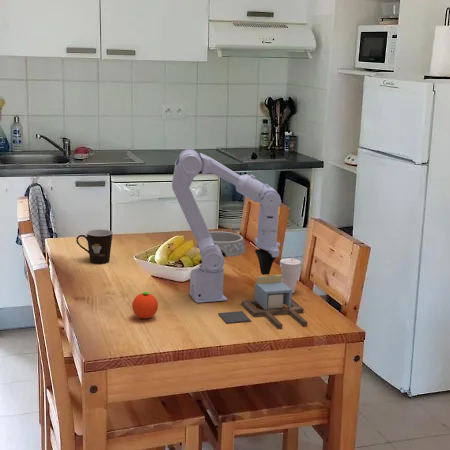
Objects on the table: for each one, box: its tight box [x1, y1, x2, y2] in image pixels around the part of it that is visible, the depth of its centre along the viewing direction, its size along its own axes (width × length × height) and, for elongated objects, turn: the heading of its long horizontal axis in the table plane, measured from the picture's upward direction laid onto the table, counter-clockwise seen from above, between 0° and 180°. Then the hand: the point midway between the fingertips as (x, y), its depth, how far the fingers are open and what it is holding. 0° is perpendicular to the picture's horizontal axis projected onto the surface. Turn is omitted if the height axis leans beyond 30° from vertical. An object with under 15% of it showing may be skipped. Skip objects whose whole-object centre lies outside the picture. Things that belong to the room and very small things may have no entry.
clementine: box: [131, 291, 159, 319], centre depth 190 cm, size 8×7×7 cm
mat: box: [218, 310, 252, 325], centre depth 193 cm, size 7×7×1 cm
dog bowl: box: [195, 230, 246, 258], centre depth 257 cm, size 17×18×5 cm
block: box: [267, 293, 284, 309], centre depth 200 cm, size 4×4×5 cm
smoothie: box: [279, 247, 302, 294], centre depth 214 cm, size 6×6×14 cm
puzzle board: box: [241, 298, 308, 330], centre depth 197 cm, size 15×20×1 cm
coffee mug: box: [75, 229, 114, 265], centre depth 237 cm, size 12×9×10 cm
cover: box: [253, 273, 293, 309], centre depth 200 cm, size 8×8×7 cm
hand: (265, 273), depth 208 cm, fingers closed
